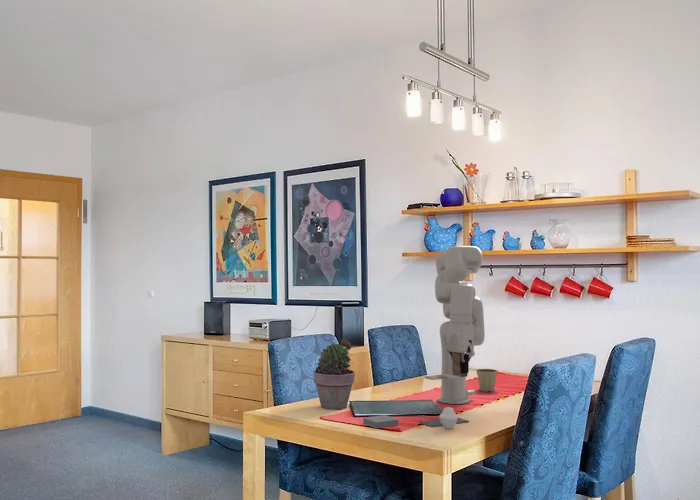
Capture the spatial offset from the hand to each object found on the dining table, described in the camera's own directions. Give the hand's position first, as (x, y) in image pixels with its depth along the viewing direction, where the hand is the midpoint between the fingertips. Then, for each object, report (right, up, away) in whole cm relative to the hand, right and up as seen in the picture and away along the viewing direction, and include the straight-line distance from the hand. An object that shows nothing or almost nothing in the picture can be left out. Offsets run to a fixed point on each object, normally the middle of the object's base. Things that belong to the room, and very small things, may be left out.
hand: (460, 371), depth 240 cm
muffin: (-6, -17, -11) cm, 21 cm away
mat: (-6, -17, -4) cm, 18 cm away
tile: (-24, -16, -5) cm, 29 cm away
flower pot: (+21, -18, +57) cm, 63 cm away
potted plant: (-45, -17, +19) cm, 51 cm away
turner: (-5, -1, -3) cm, 6 cm away
